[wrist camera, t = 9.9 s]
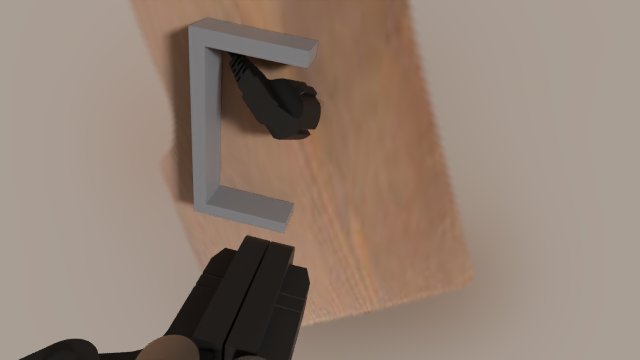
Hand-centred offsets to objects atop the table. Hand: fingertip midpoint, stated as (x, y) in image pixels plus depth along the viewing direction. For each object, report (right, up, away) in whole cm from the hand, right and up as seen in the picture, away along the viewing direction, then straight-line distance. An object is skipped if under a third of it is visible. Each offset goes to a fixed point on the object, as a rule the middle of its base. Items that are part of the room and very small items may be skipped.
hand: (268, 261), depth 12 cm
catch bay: (-5, +8, +31) cm, 32 cm away
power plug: (-3, +13, +28) cm, 31 cm away
